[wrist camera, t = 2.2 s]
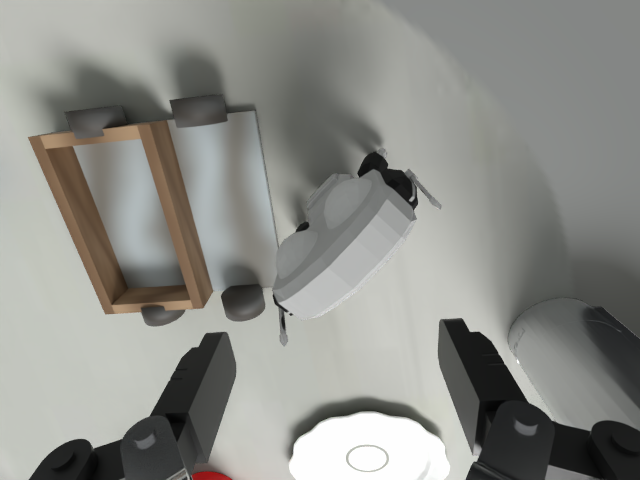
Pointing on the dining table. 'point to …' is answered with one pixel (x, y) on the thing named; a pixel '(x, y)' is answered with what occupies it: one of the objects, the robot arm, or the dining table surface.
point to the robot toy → (345, 238)
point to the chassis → (166, 207)
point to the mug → (209, 476)
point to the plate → (369, 450)
